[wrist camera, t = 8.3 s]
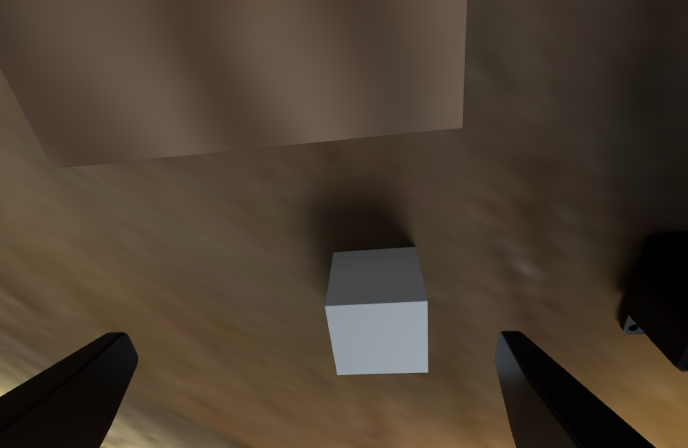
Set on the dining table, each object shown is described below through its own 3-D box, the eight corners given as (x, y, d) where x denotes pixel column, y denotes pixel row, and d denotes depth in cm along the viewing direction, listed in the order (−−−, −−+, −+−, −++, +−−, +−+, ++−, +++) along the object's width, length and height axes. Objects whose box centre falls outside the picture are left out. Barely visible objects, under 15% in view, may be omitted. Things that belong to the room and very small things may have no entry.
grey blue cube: (415, 246, 20) (427, 301, 16) (417, 309, 22) (428, 372, 18) (333, 251, 20) (324, 306, 16) (343, 313, 22) (337, 374, 18)
